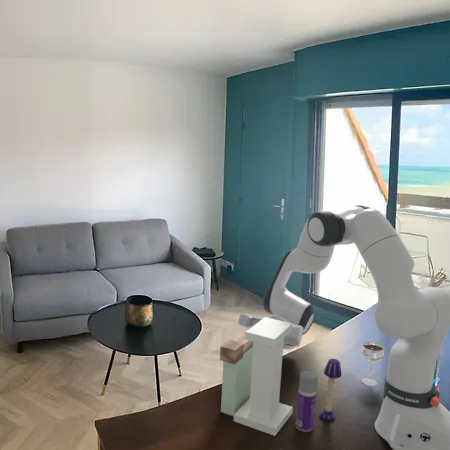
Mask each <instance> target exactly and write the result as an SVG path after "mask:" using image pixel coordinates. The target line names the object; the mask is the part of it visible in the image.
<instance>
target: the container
mask: <svg viewBox="0 0 450 450" xmlns="http://www.w3.org/2000/svg"><path fill="white" fill-rule="evenodd" d="M317 389H318V374H317V373H316V372H314V371H311V370H302V371H301V372H300V375H299V381H298V393H297V402H296V403H297V405H296V415H295V416H296V417H295V428H296V429H297V430H298V431H300V432H303V433H304V432H305V433H306V432H307V433H308V432H312V431H313V429H314V426H315V415H316V414H315V413H316V402H317Z"/></svg>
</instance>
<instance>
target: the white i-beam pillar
mask: <svg viewBox="0 0 450 450" xmlns="http://www.w3.org/2000/svg"><path fill="white" fill-rule="evenodd" d="M291 331H292V323H288V322H284V321H280V320H275V319H271V318H270V317H267V316H266V317H265V316H264V317H263V318H262V320H260V321H259V322H258V323H257V324H255V325H254V326H253V327H251V328H250V329H247V330H245V334H244V335H245V339H247V340H250V341H253V357H252V373H251V389H250V399H249V400H248V401H247V402H246V403H245V404H244V405H243V406H242V407H241V408H240V409H239V410H238V411H237V412H236V413H235V414H234V416H233V422H235V423H237V424H241V425H242V426H246V427H250V428H251V429H254V430H257V431H260V432H263V433H266V434H269V435H271V436H276V435H277V434H278V432H280V431H281V429H282V428H283V426H284V425H285V424H286V423H287V421H288V420H289V419H290V417H291V416H292V414H293V407H294V406H290V405H288V404H284V403H281V402H280V392H281V380H282V365H283V355H284V354H283V353H284V349H283V342H284V337H285V336H286V335H288V334H289V333H290V332H291Z"/></svg>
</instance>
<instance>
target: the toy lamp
mask: <svg viewBox="0 0 450 450" xmlns="http://www.w3.org/2000/svg"><path fill="white" fill-rule="evenodd" d="M323 374H324V376H325V377H328V381H327V390H326V397H325V406H324V409H322V410H320V412H319V414H318V415H319V418H320V419H321V420H323V421H326V422H332V421H334V420H336V415H335V412H334V411H333V410H332V409H333V408H332V405H333V400H334V398H333V397H334V390H335V382H336V381H335V379H340V378H341V377H342V367H341V362H340V360H338V359H336V358H330V359H328V361H327V363H326V365H325V368H324V370H323Z"/></svg>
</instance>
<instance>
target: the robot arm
mask: <svg viewBox="0 0 450 450" xmlns="http://www.w3.org/2000/svg"><path fill="white" fill-rule="evenodd" d="M351 244H354V245H355V246H356V248H357V250H358V252H359V254H360V256H361V257H362V259H363V261H364V263H365V265H366V266H367V269H368V271H369V273H370V274H371V276H372V279H373V280H374V283H375V288H376V292H377V304H376V306H375V310H374V322H375V325H376V327H377V329H378V330H379V332H380V333H381V335H383V336H384V337H386V338H388V339H391V340H397V341H396V342H395V343H394V344H393V345H392V347H391V348H390V349H391V350H390V351H389V352H390V353H389V357H388V366H387V375H386V377H385V378H384V379H385V380H384V381H383V388H382V390H383V391H382V399H383V400H382V404H381V407H380V411H379V413H378V416H377V418H376V420H375V422H374V428H375V431H376V433H377V434H378V435H379V436H380V437H382V439H384V440H385V441H386V442H387V443H388V444H389V446H390V448H391V449H392V450H450V411H449V410H448V409H447V408H446V407H445V406H444V405H443V404H442V403H441V400H440V395H441V394H440V387H439V386H438V387H437V389H436V387H434V385H433V382H434V375H435V368H436V362H437V359H438V356H439V353H440V350H441V348H442V345H443V344H444V341H445V339H446V337H447V335H448V333H449V330H450V289H448V288H446V287H439V286H427V287H424V288H419V289H417V287H416V286H415V284H414V281H413V280H414V279H413V277H412V273H413V270H414V267H415V262H414V259H413V257H412V255H411V254H410V252H409V251H408V248H407V247H406V245H405V244H404V242H403V241H402V238H401V237H400V235H399V234H398V231H396V230H395V228H394V226H393V225H392V224H391V222H390V221H389V220H388V219H387V218H386V216H385V215H384V214H383V213H382V212H381V211H380V210H378V209H376V208H372V207H370V206H366V205H357V204H356V205H353V206H352V205H347V206H345V205H344V206H342V205H340V206H335V207H330V208H327V209H324V208H323V209H320V210H317V211H316V212H314V213H312V214H311V215H310V216H309V218H307V220H306V222H305V224H304V226H303V228H302V231H301V233H300V236H299V240H298V243H297V245H296V248H295V249H291V250H289V251H288V252H286V253H285V255H284V256H283V257H282V259H281V261H280V263H279V265H278V267H277V270H276V272H275V274H274V276H273V278H272V281H271V283H270V284H269V286H268V288H267V289H266V291H265V293H264V295H263V297H262V298H261V299H262V306H263V309H264V311H265V312H267V313H269V314H271V315H272V316H271V317H269V318H271V319H275V320H280V321H284V322H288V323H292V331H291V332H290V333H289V334H288V335H286V336H285V337H284V342H283V350H292V349H294V348H296V347H297V348H299V347H300V345H301V342H302V338H303V336H304V335H305V334H307V332H308V331H309V330H310V329H311V326H312V325H313V323H314V321H315V309H314V305H313V304H311V303H310V302H308V301H306V300H305V299H303V297H300V296H298V295H296V294H294V293H293V292H291V291H290V290H288V288H287V287H286V286H287V283H288V282H289V279H290V277H291V275H292V273H294V272H297V273H302V274H315V273H319V272H322V271H323V270H325V269H326V268H328V266H329V264H330V262H331V259H332V257H333V255H334V254H333V253H334V250H335V246H342V245H351ZM238 317H239V318H238V322H237V323H238V324H237V325H238V326H241V327H243V328H246V329H247V330H249V329H250V328H251V327H253V326H254V325H255V324H257V323H258V322H259V321H260V320H262V319H263V318H262V317H259V316H258V317H257V316H254V315H250V314H246V313H241V314H240V315H239V316H238Z"/></svg>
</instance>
